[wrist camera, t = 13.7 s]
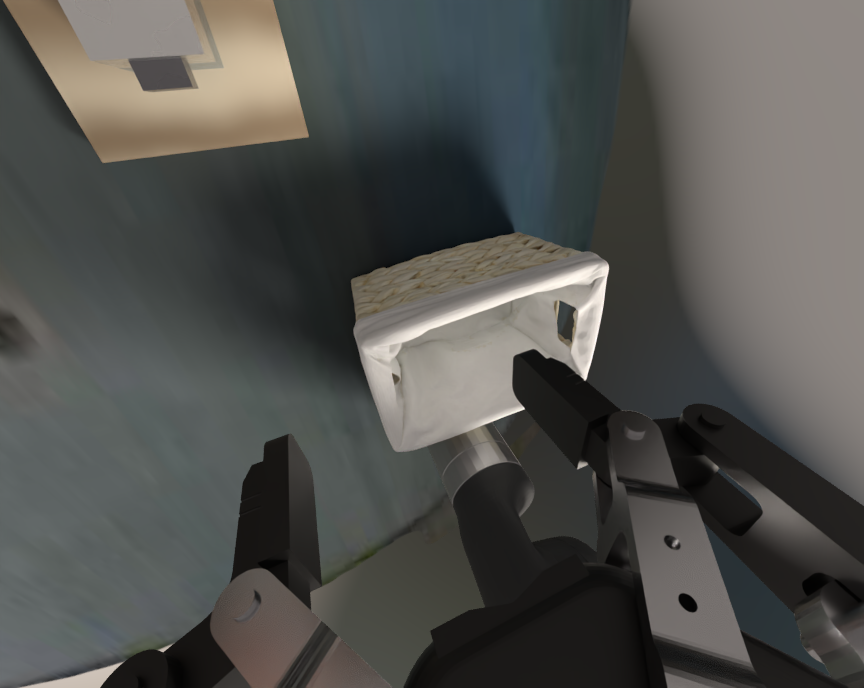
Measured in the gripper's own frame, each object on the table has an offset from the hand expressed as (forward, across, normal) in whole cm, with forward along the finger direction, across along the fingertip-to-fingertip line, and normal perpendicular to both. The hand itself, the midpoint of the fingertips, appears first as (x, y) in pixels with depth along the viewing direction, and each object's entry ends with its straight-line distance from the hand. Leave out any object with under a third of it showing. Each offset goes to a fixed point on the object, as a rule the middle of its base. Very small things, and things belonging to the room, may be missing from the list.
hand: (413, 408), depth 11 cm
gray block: (+24, +6, -15) cm, 29 cm away
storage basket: (+28, -11, +12) cm, 32 cm away
